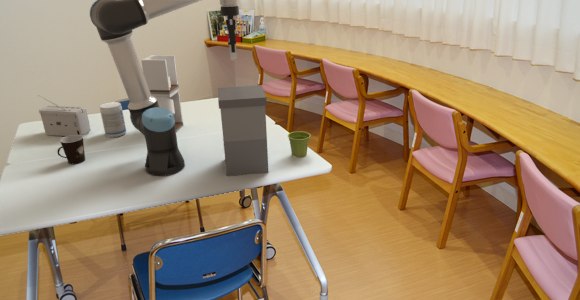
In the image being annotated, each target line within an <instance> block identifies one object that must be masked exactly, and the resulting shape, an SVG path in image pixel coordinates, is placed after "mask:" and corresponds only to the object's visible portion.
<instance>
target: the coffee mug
mask: <svg viewBox="0 0 580 300" xmlns="http://www.w3.org/2000/svg"><path fill="white" fill-rule="evenodd" d="M59 141H60V144H61V146H59V148H58V149H57V155H58V156H59V157H61V158H64V159H67V163H68V164H70V165H78V164H82V163H84V161H86V156H85V154H86V153H85V143H84V142H85V141H84V135H83V136H81V135H71V136H63V137H62V138H60V139H59ZM61 149H63V152H64V155H65V156H64V155H61V153H60V151H61Z"/></svg>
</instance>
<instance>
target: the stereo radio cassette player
mask: <svg viewBox="0 0 580 300" xmlns="http://www.w3.org/2000/svg"><path fill="white" fill-rule="evenodd" d="M37 96H38V97H40V98H42V99H43V100H46V101H48V102H49V103H50V104H52V105H47V106H45V107H42V108H40V109H38V113H39V115H40V117H41V121H42V125H43V129H44V132H45V134H46V136H57V137H58V136H60V137H67V136H71V135H81V136H83V137H84V136H85V135H87V134H89V133H90V132H91V125H90V119H89V115H88V111H87V108H86V107H85V106H84V107H81V106H61V105H58V104H56V103H53V102H52V101H50V100H48V99H47V98H45V97H43V96H41V95H37Z"/></svg>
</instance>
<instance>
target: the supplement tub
mask: <svg viewBox="0 0 580 300" xmlns="http://www.w3.org/2000/svg"><path fill="white" fill-rule="evenodd" d="M99 111H100V116H101V121H102V126H103V131H104V133H105V136H106V137H108V138H117V137H122V136H124V135H125V134H126V133H127V129H126V122H125V117H124V113H123V107H122V104H121V102H117V101H115V102H114V101H113V102H112V101H111V102H105V103H103V104H100V106H99Z"/></svg>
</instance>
